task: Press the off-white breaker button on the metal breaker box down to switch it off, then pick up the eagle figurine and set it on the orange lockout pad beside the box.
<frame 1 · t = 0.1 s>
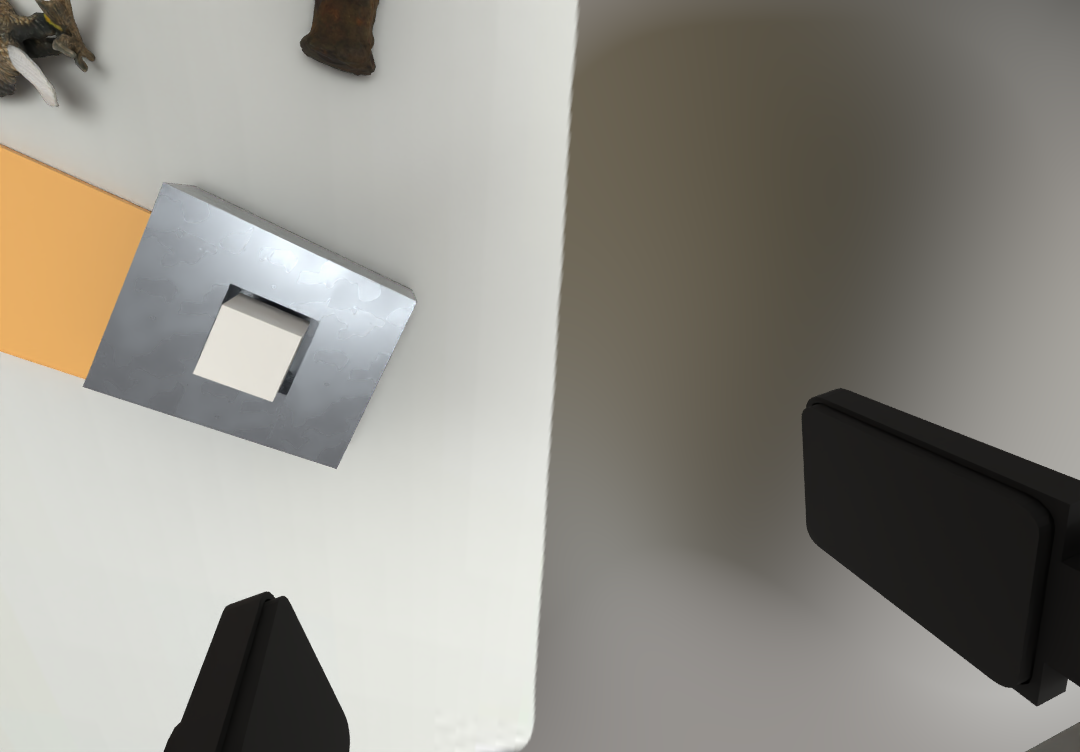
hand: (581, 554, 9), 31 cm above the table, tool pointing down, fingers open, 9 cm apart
breaker box: (274, 324, 36), on the table
breaker button: (256, 345, 30), point 6 cm above the table, slide at 0.0 cm
eagle figurine: (3, 33, 28), on the table
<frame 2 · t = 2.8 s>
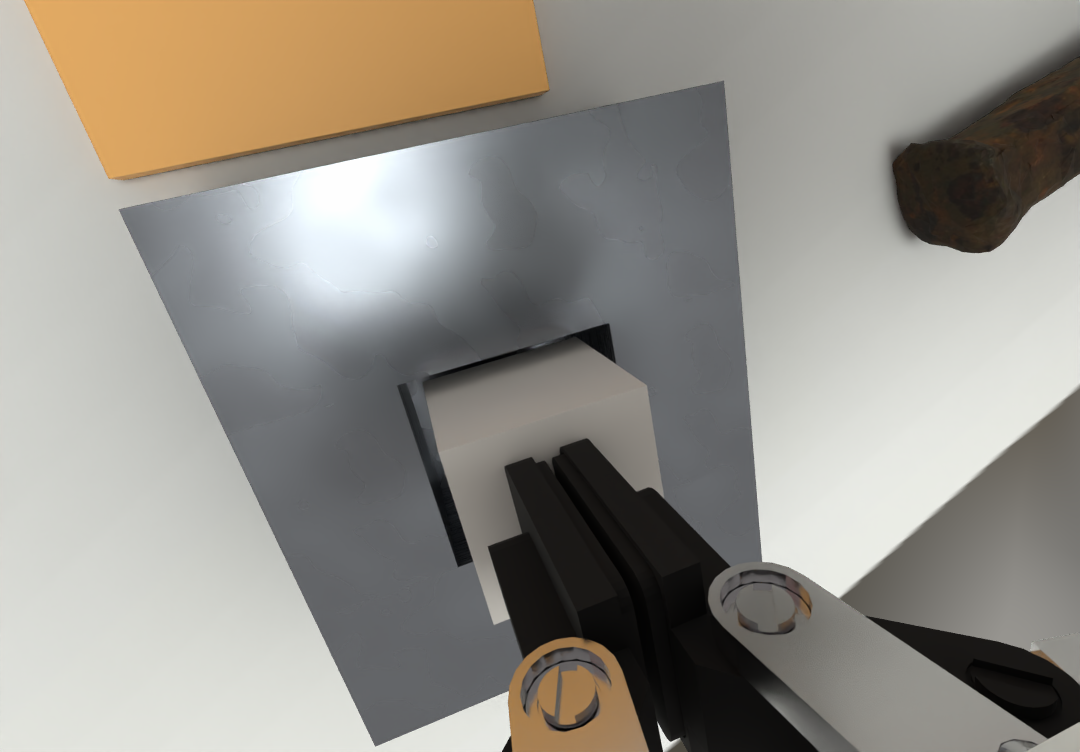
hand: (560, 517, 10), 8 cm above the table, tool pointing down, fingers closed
breaker box: (491, 384, 17), on the table
breaker button: (539, 463, 12), point 6 cm above the table, slide at 0.2 cm, touching gripper
hand tool: (1073, 65, 21), on the table
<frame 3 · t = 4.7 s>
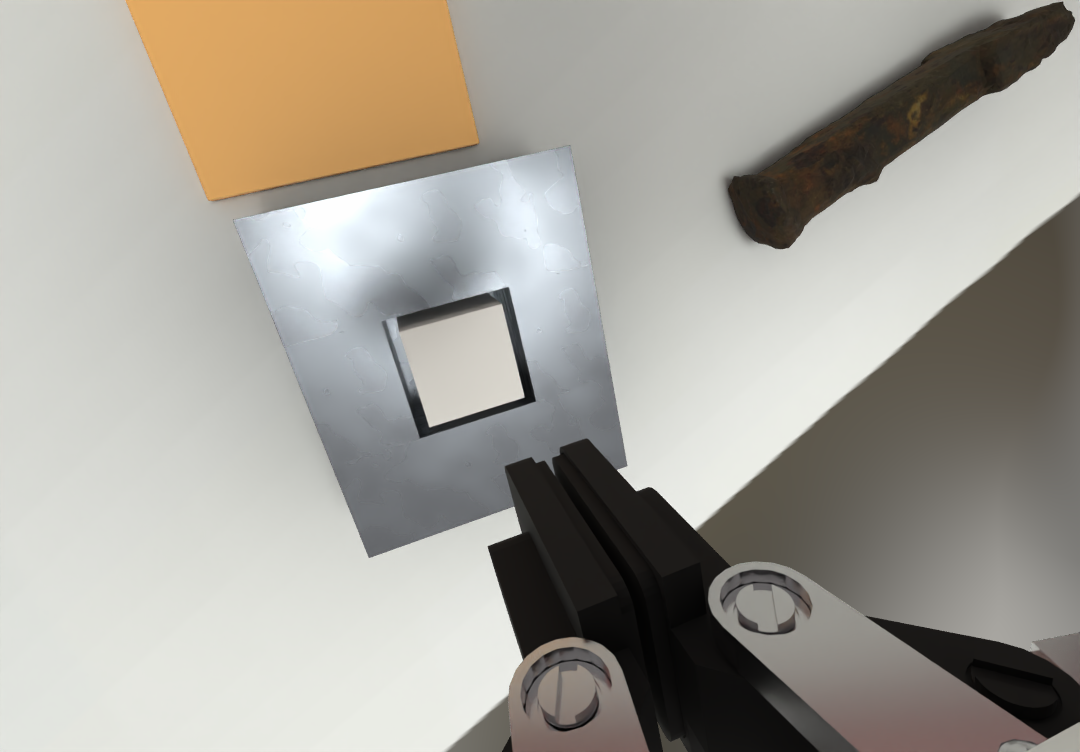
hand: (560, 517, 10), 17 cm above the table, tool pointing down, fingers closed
breaker box: (448, 336, 26), on the table
breaker button: (457, 353, 23), point 3 cm above the table, slide at 2.6 cm
hand tool: (860, 112, 29), on the table
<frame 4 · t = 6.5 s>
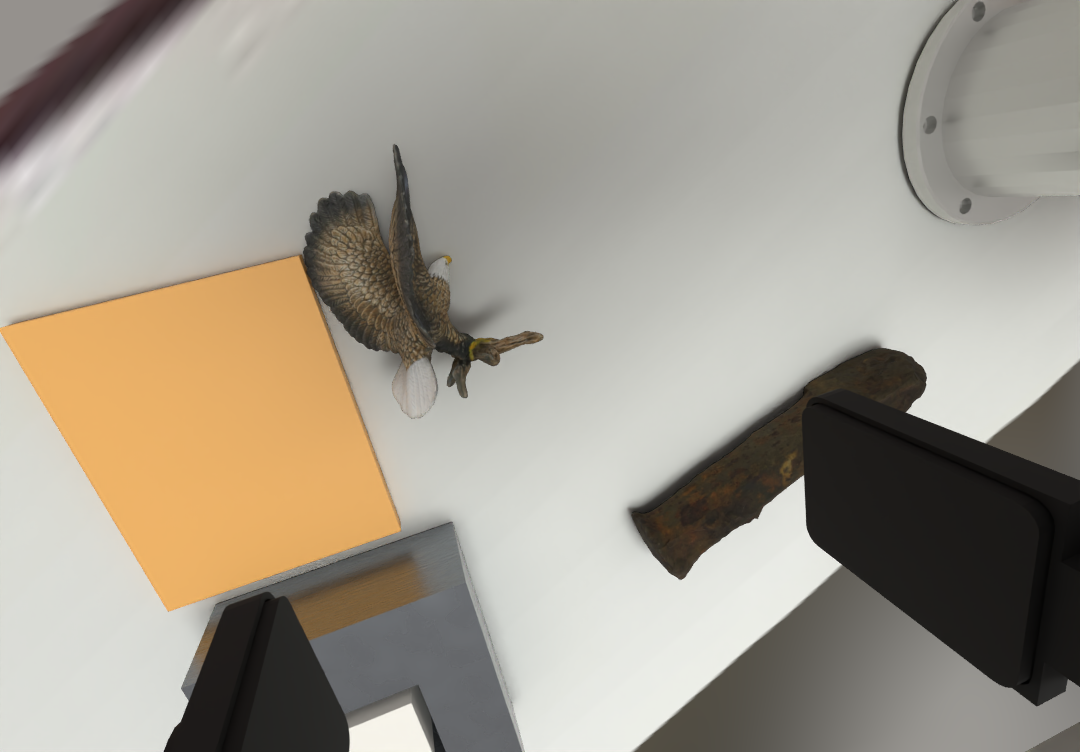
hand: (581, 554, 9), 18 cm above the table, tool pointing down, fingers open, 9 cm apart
breaker box: (381, 660, 30), on the table
breaker button: (381, 713, 27), point 3 cm above the table, slide at 2.6 cm
eagle figurine: (407, 281, 25), on the table
lockout pad: (234, 437, 24), on the table
hand tool: (751, 430, 33), on the table
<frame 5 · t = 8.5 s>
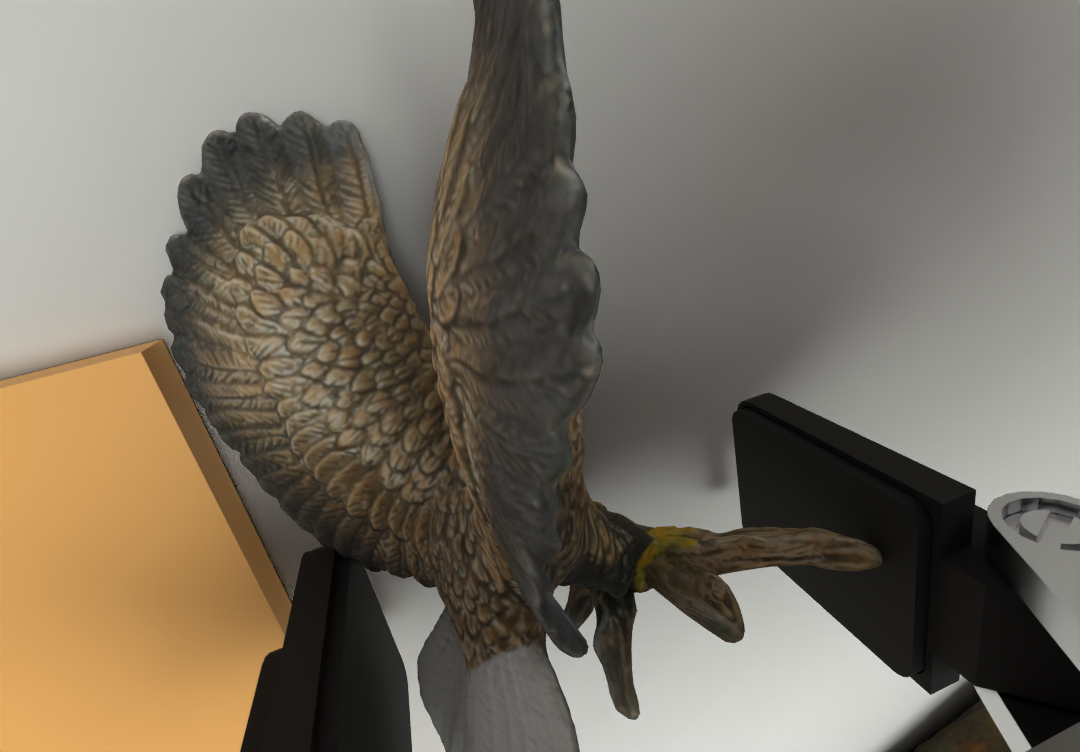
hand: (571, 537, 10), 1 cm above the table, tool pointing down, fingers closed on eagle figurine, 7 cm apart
eagle figurine: (455, 357, 10), on the table, touching gripper
hand tool: (1050, 606, 18), on the table
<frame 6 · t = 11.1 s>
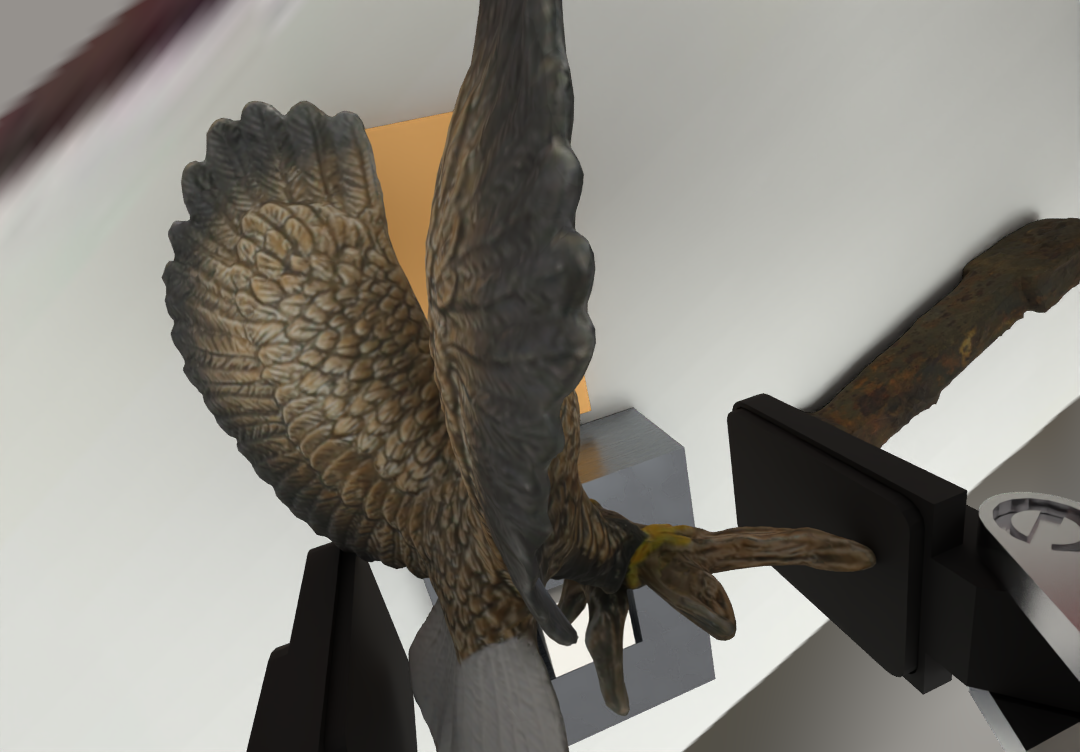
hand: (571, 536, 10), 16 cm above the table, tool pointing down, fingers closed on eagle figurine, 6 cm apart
breaker box: (552, 556, 29), on the table
breaker button: (573, 598, 26), point 3 cm above the table, slide at 2.6 cm
eagle figurine: (454, 351, 10), point 14 cm above the table, touching gripper
lockout pad: (440, 299, 23), on the table
hand tool: (910, 320, 32), on the table
when the fingers open (3 cm above the table, at t = 13.9 s): eagle figurine stays where it is, resting on lockout pad.
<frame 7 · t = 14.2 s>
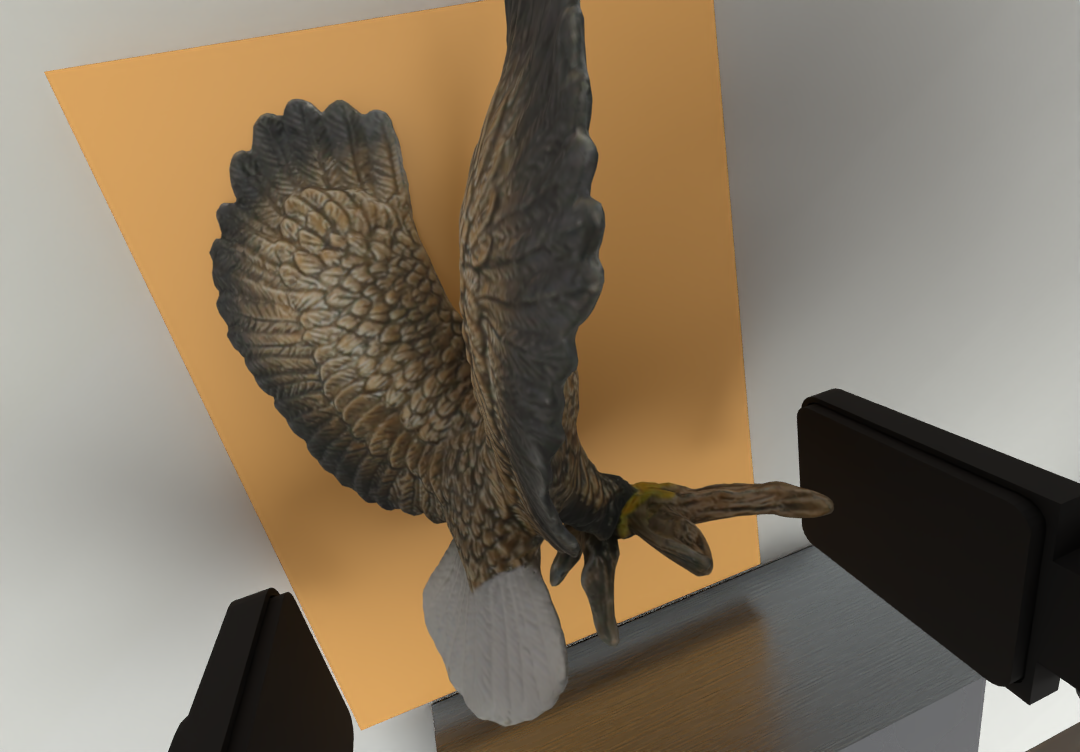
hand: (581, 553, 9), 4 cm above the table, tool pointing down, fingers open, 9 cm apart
eagle figurine: (464, 328, 11), point 1 cm above the table, touching lockout pad
lockout pad: (505, 383, 12), on the table
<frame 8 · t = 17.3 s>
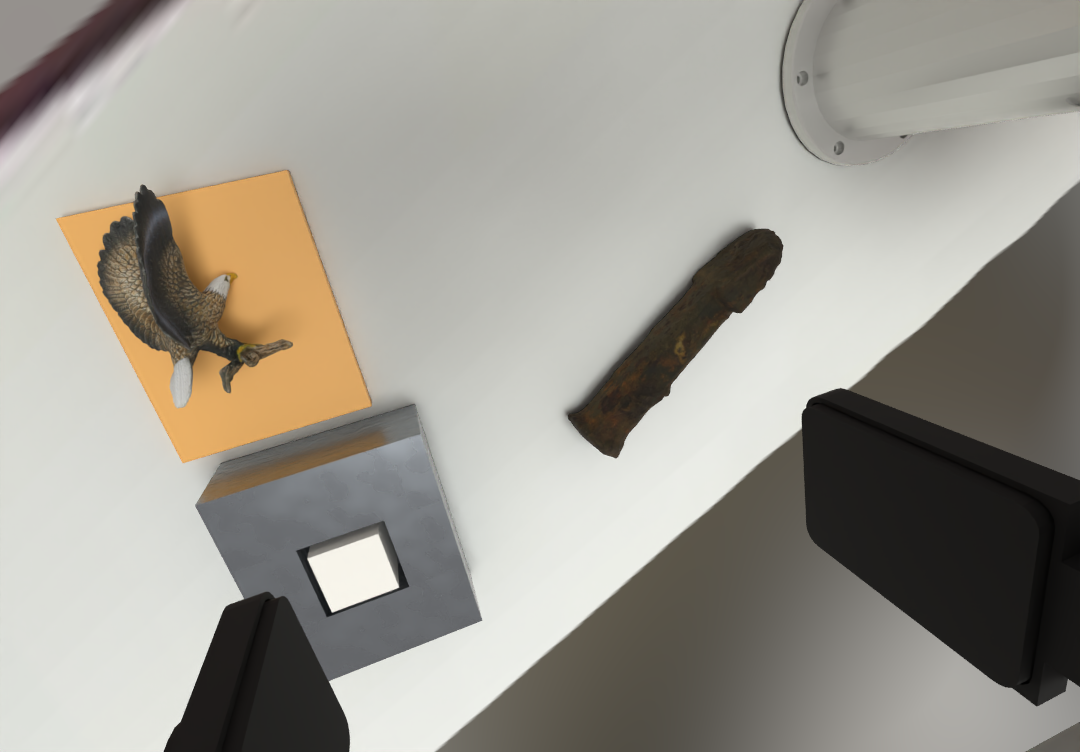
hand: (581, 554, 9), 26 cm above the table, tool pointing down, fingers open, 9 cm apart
breaker box: (357, 523, 36), on the table
breaker button: (356, 553, 33), point 3 cm above the table, slide at 2.6 cm
eagle figurine: (199, 292, 29), point 1 cm above the table, touching lockout pad
lockout pad: (235, 320, 31), on the table
hand tool: (657, 326, 39), on the table
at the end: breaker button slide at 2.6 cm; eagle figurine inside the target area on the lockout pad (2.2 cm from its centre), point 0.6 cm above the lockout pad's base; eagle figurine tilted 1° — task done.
